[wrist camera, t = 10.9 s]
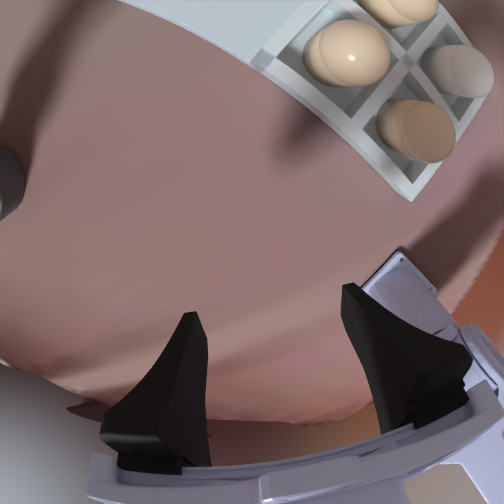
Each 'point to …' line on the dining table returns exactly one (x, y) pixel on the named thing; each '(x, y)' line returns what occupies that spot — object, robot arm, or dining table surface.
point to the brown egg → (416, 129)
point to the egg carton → (316, 94)
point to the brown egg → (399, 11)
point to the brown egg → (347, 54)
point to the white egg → (458, 70)
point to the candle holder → (10, 182)
